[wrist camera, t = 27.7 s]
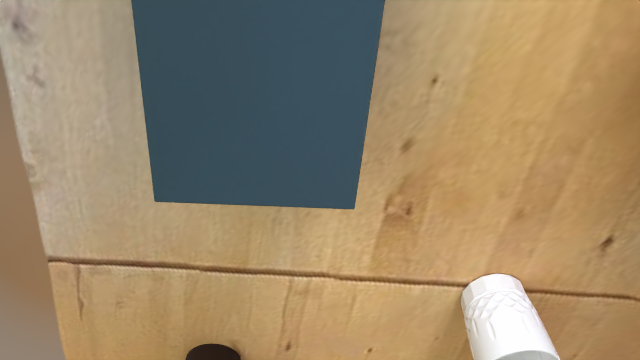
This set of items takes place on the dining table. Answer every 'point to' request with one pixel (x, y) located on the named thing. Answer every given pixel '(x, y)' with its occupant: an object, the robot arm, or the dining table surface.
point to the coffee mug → (212, 353)
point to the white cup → (504, 321)
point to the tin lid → (257, 98)
